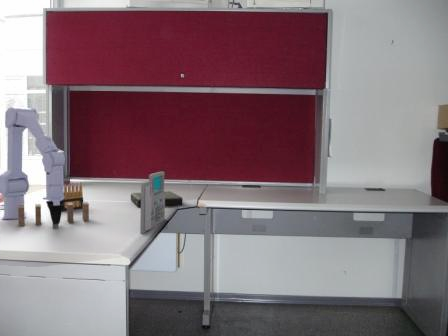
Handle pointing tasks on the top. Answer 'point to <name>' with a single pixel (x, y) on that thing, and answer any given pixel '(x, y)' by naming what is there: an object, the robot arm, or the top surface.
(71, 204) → the walnut domino
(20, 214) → the walnut domino
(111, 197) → the top surface
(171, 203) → the network switch
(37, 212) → the walnut domino
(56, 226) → the charcoal domino
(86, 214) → the walnut domino
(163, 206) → the office telephone
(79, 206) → the ammunition clip
